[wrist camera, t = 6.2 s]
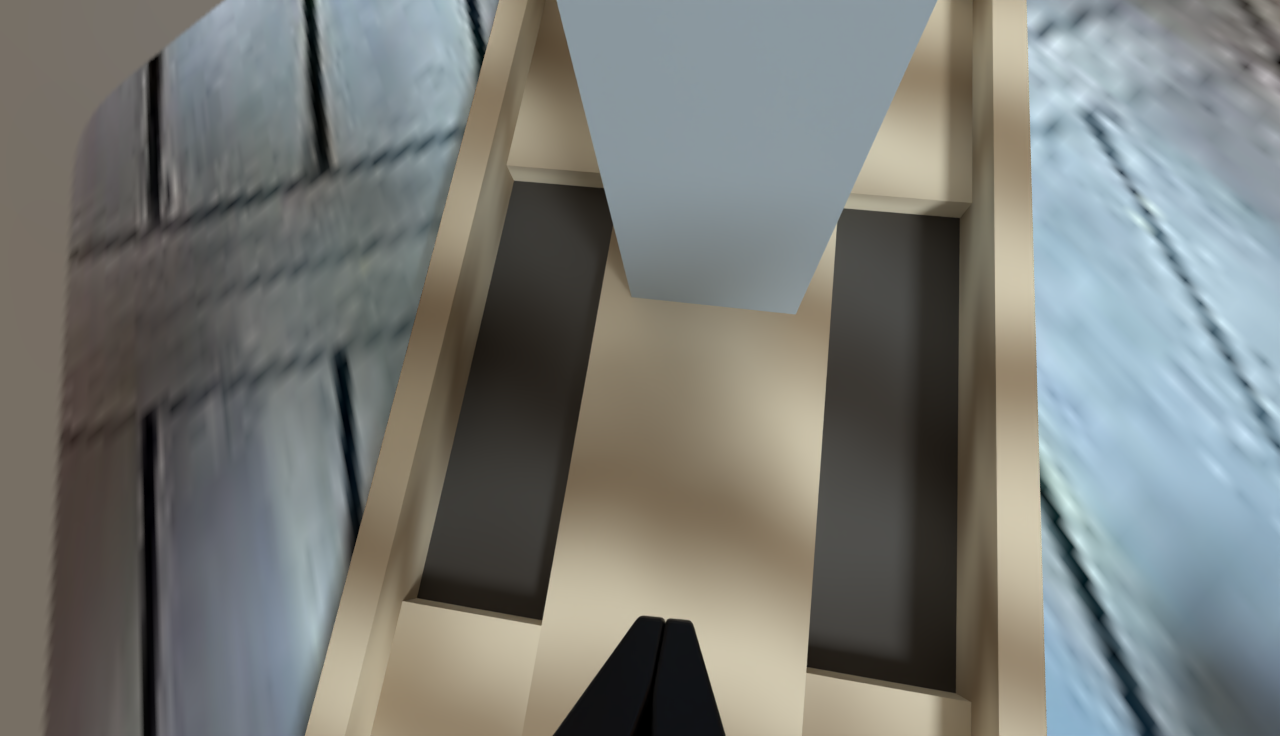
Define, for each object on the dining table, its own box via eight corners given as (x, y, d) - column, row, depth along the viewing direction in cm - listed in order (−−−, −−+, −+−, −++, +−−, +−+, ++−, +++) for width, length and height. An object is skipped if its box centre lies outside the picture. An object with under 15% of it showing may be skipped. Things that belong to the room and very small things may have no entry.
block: (795, 314, 18) (941, -8, 7) (631, 297, 19) (550, -23, 8) (818, 44, 21) (949, -477, 10) (674, 36, 21) (655, -463, 11)
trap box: (996, 1033, 14) (1058, 1132, 11) (318, 870, 16) (254, 926, 14) (989, 1, 22) (1024, -64, 19) (536, -18, 24) (519, -78, 21)
